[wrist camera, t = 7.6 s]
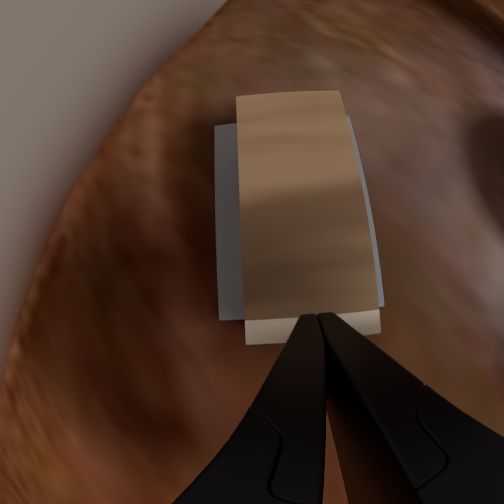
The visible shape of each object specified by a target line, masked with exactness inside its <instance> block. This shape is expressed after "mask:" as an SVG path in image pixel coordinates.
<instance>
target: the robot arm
mask: <svg viewBox="0 0 504 504" xmlns="http://www.w3.org/2000/svg"><path fill="white" fill-rule="evenodd" d="M326 410H327V414H328V418H329V422H330V426H331V430H332V434H333V439H334V443H335V447H336V451H337V455H338V459H339V464H340V468H341V472H342V476H343V481H344V485H345V490H346V494H347V499H348V503H349V504H504V436H502V435H500V434H499V433H497V432H495V431H494V430H492V429H490V428H489V427H487V426H486V425H484V424H482V423H481V422H479V421H477V420H476V419H474V418H473V417H471V416H470V415H468V414H466V413H465V412H463V411H462V410H460V409H459V408H457V407H456V406H454V405H453V404H452V403H450V402H449V401H448V400H446V399H445V398H444V397H442V396H441V395H439V394H438V393H437V392H436V391H434V390H433V389H432V388H430V387H429V386H428V385H424V383H423V382H422V381H421V380H419V379H418V378H417V377H416V376H414V375H413V374H412V373H410V372H409V371H408V370H407V369H405V368H404V367H403V366H401V365H400V364H399V363H398V362H396V361H395V360H394V359H393V358H391V357H390V356H389V355H387V354H386V353H385V352H384V351H382V350H381V349H380V348H378V347H377V346H376V345H375V344H373V343H372V342H371V341H370V340H368V339H367V338H366V337H364V336H363V335H362V334H361V333H359V332H358V331H357V330H355V329H354V328H353V327H352V326H350V325H349V324H348V323H347V322H345V321H344V320H343V319H341V318H340V317H339V316H338V315H336V314H335V313H333V312H324V313H318V314H317V315H316V314H314V313H313V314H302V315H300V317H299V318H298V320H297V322H296V324H295V326H294V328H293V330H292V332H291V334H290V336H289V338H288V339H287V341H286V343H285V345H284V347H283V349H282V351H281V353H280V354H279V356H278V358H277V360H276V362H275V364H274V365H273V367H272V369H271V371H270V373H269V374H268V376H267V378H266V380H265V382H264V383H263V385H262V387H261V389H260V390H259V392H258V394H257V396H256V397H255V399H254V401H253V403H252V404H251V407H249V409H248V410H247V412H246V414H245V415H244V417H243V419H242V420H241V422H240V423H239V425H238V426H237V428H236V429H235V431H234V432H233V434H232V435H231V437H230V438H229V440H228V441H227V442H226V443H225V445H224V446H223V447H222V448H221V450H220V451H219V452H218V453H217V455H216V456H215V457H214V458H213V460H212V461H211V462H210V463H209V464H208V465H207V466H206V467H205V469H204V470H203V471H202V472H201V473H200V474H199V475H198V476H197V477H196V478H195V480H194V481H193V482H192V483H191V484H190V485H189V486H188V487H187V488H186V489H185V490H184V491H183V492H182V493H181V494H180V495H179V496H178V498H177V499H176V500H175V501H174V502H173V503H172V504H322V502H323V487H324V469H325V444H326Z"/></svg>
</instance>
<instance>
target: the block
mask: <svg viewBox="0 0 504 504" xmlns="http://www.w3.org/2000/svg"><path fill="white" fill-rule="evenodd" d="M236 109H237V140H238V169H239V196H240V222H241V247H242V270H243V293H244V314H245V335H246V345H252V344H272V343H286V341H287V339H288V338H289V336H290V334H291V332H292V330H293V328H294V326H295V324H296V322H297V320H298V318H299V317H300V315H302V314H313V313H314V314H316V315H317V314H318V313H324V312H333V313H335V314H336V315H338V316H339V317H340V318H341V319H343V320H344V321H345V322H347V323H348V324H349V325H350V326H352V327H353V328H354V329H355V330H357V331H358V332H359V333H361V334H362V335H371V334H379V333H381V328H380V313H379V301H378V291H377V281H376V272H375V263H374V255H373V248H372V241H371V234H370V228H369V221H368V215H367V209H366V204H365V198H364V193H363V187H362V182H361V177H360V172H359V168H358V163H357V158H356V154H355V150H354V145H353V141H352V137H351V133H350V129H349V125H348V121H347V117H346V113H345V110H344V106H343V103H342V99H341V95H340V92H339V91H301V92H282V93H268V94H256V95H246V96H237V97H236Z"/></svg>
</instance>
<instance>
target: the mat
mask: <svg viewBox="0 0 504 504" xmlns="http://www.w3.org/2000/svg"><path fill="white" fill-rule="evenodd" d="M346 117H347V121H348V125H349V129H350V133H351V137H352V141H353V145H354V150H355V154H356V158H357V163H358V168H359V172H360V177H361V182H362V187H363V193H364V198H365V204H366V209H367V215H368V221H369V228H370V234H371V241H372V248H373V255H374V263H375V272H376V281H377V291H378V301H379V307H383V306H384V297H383V287H382V279H381V271H380V263H379V256H378V249H377V242H376V236H375V230H374V224H373V218H372V213H371V207H370V202H369V197H368V192H367V187H366V182H365V178H364V173H363V169H362V164H361V160H360V156H359V152H358V148H357V144H356V140H355V136H354V132H353V128H352V125H351V121H350V117H349V116H346ZM215 221H216V256H217V284H218V307H219V320H220V321H222V320H242V319H245V314H244V293H243V270H242V247H241V222H240V196H239V169H238V140H237V123H232V124H224V125H217V126H215Z"/></svg>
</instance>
